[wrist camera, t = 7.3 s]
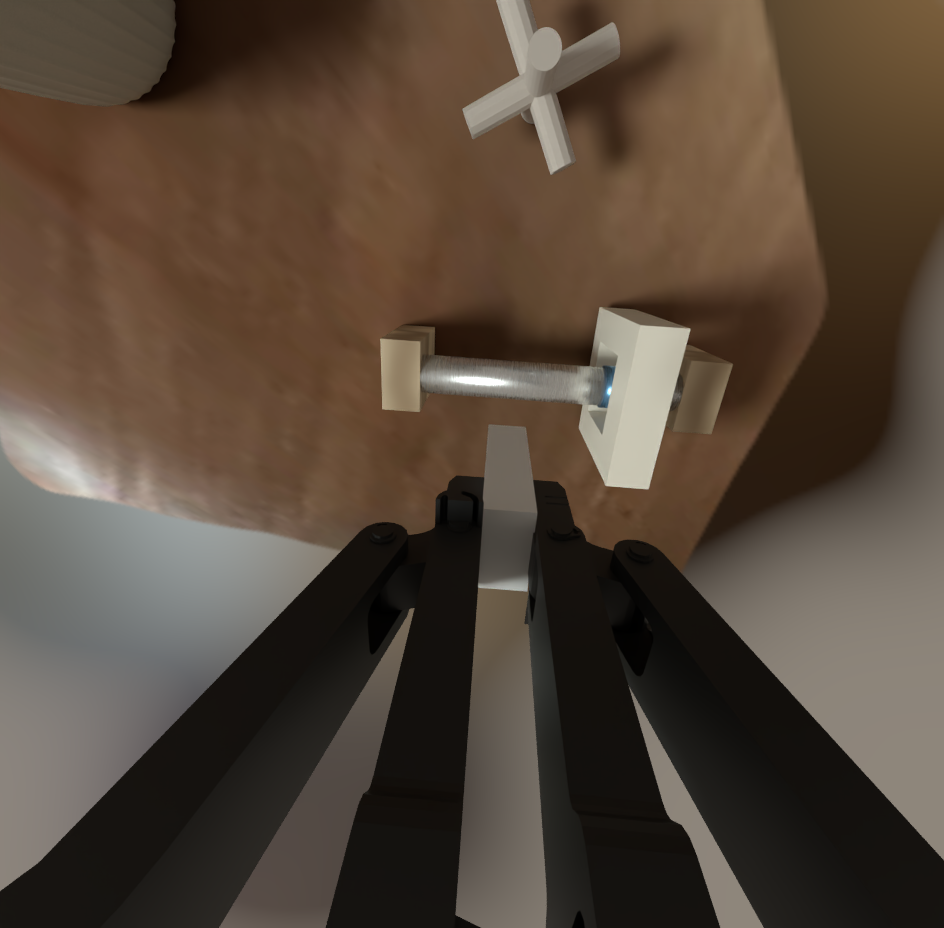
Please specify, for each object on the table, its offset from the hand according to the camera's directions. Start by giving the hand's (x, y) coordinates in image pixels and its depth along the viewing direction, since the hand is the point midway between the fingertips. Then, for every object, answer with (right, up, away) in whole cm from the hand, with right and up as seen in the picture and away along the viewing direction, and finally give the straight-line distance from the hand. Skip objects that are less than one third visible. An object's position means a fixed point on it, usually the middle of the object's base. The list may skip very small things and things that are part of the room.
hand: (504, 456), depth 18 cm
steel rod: (+5, +7, +18) cm, 20 cm away
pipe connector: (+3, +26, +15) cm, 30 cm away
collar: (+11, +8, +21) cm, 25 cm away
